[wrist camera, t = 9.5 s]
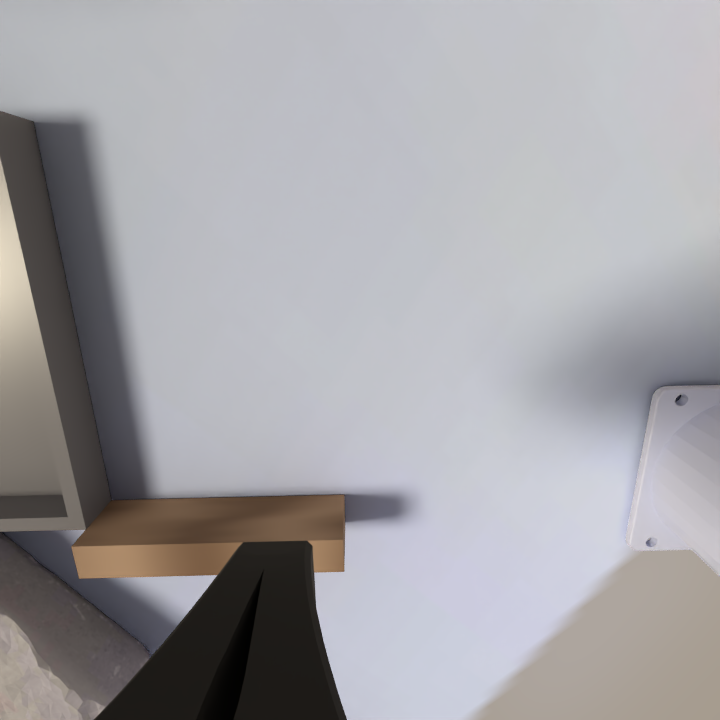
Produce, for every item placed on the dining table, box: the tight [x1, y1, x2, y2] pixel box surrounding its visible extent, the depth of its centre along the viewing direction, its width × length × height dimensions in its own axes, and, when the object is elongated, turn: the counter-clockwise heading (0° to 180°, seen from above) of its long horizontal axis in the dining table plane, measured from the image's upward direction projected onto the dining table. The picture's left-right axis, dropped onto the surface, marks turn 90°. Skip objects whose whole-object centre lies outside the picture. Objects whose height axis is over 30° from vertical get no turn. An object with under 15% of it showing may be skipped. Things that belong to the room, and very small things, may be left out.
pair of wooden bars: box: [71, 495, 345, 579], centre depth 21 cm, size 19×18×3 cm
